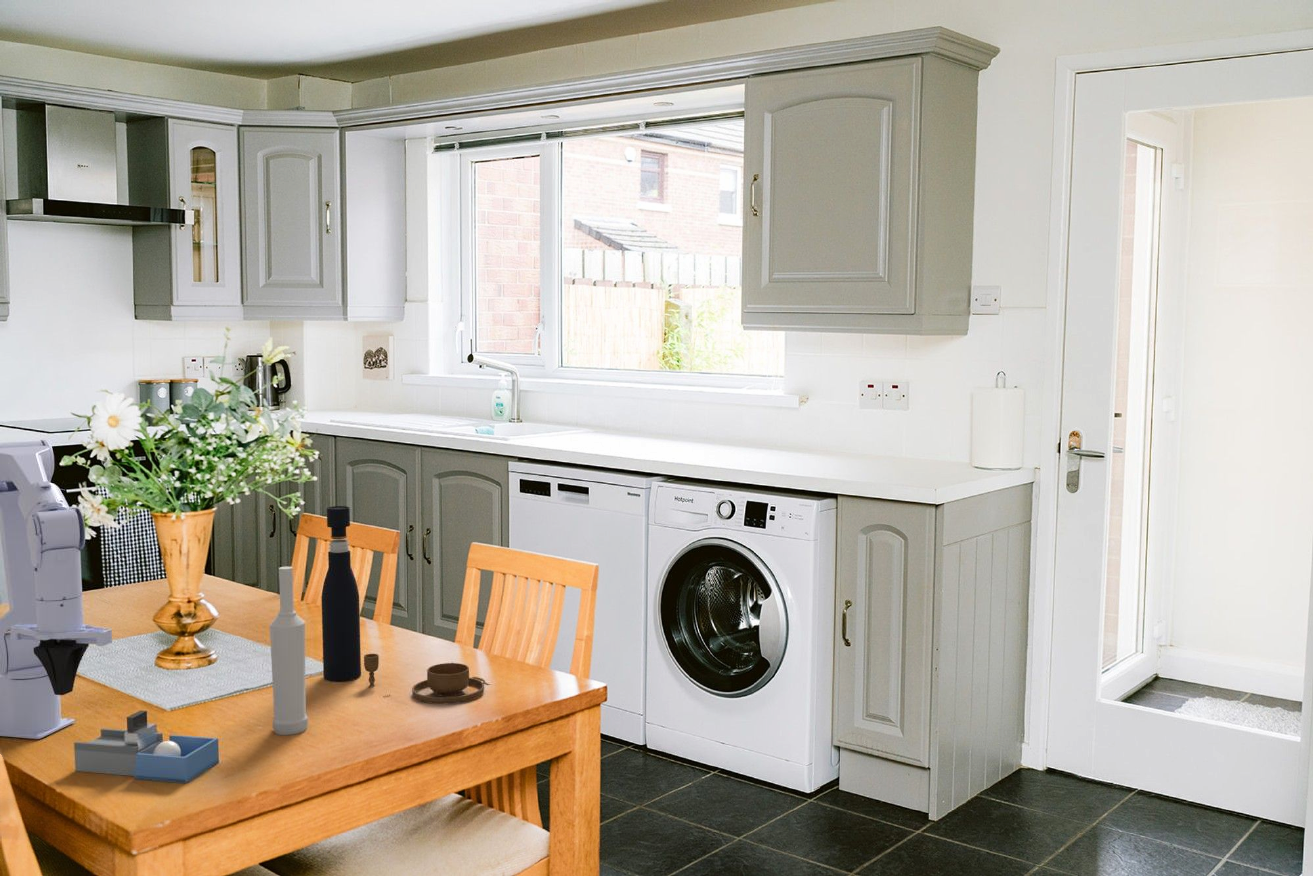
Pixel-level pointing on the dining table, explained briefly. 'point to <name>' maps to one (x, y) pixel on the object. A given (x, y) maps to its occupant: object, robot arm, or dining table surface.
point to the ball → (168, 749)
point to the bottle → (288, 662)
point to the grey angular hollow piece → (140, 730)
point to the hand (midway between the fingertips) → (63, 692)
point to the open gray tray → (110, 753)
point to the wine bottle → (340, 605)
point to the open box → (179, 760)
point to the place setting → (437, 681)
